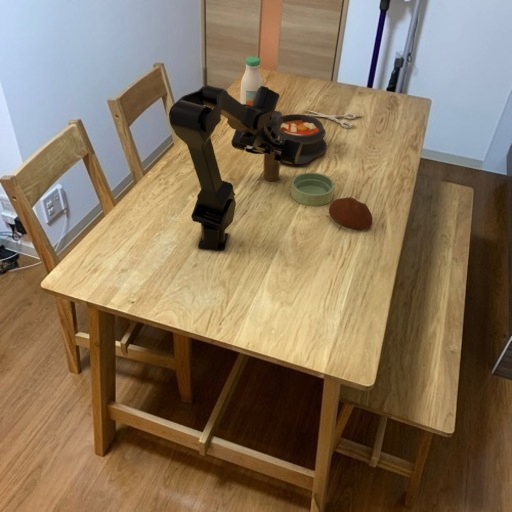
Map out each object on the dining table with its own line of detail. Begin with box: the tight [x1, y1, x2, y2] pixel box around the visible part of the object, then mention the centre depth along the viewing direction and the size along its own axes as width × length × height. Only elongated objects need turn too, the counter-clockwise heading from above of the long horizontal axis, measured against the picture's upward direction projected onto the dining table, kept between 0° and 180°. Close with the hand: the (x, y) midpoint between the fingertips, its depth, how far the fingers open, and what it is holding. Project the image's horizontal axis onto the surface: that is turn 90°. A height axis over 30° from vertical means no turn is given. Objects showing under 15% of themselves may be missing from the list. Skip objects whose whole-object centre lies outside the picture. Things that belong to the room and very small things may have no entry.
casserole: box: [278, 113, 327, 165], centre depth 163 cm, size 25×19×8 cm
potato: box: [328, 196, 374, 230], centre depth 134 cm, size 8×12×8 cm, turn 74°
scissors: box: [305, 109, 362, 129], centre depth 183 cm, size 11×1×20 cm
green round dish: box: [290, 171, 335, 207], centre depth 145 cm, size 12×12×4 cm
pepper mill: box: [262, 136, 281, 182], centre depth 147 cm, size 5×5×13 cm
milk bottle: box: [239, 56, 265, 106], centre depth 176 cm, size 8×8×20 cm
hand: (274, 154), depth 148 cm, fingers closed on pepper mill, 4 cm apart
